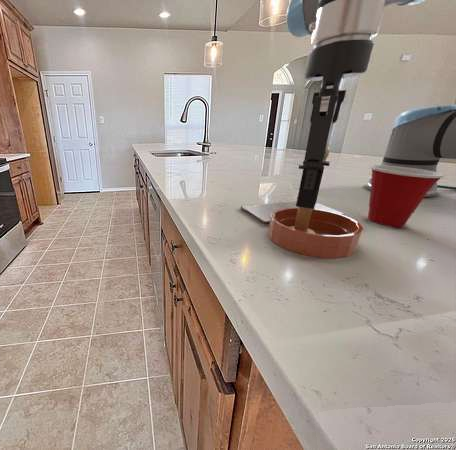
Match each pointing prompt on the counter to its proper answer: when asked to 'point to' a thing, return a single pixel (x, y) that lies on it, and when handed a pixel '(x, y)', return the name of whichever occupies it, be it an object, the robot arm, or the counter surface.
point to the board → (266, 210)
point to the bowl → (316, 233)
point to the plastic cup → (398, 193)
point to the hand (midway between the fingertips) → (306, 204)
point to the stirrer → (305, 214)
